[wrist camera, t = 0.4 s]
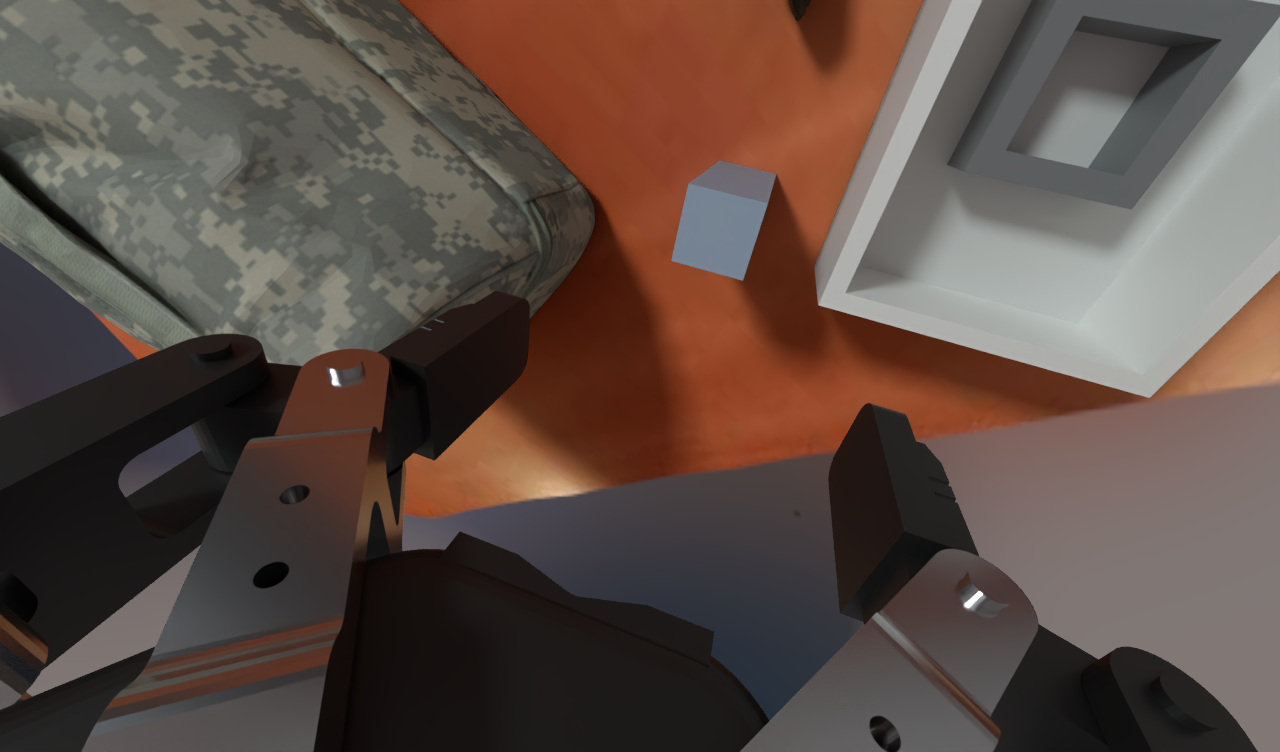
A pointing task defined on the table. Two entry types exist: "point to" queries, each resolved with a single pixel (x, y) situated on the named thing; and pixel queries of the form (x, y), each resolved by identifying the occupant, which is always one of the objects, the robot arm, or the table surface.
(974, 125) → the walled box
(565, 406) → the table surface
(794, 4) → the hand tool
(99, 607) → the robot arm
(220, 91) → the lunch bag
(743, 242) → the plug
